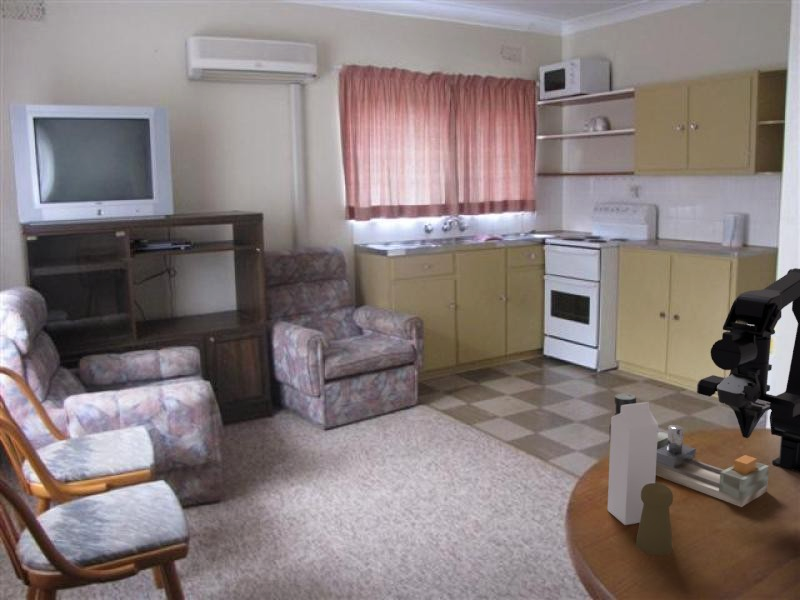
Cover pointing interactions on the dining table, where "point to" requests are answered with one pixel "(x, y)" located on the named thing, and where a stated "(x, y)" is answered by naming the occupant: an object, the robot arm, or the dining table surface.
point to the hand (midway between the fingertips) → (746, 437)
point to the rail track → (715, 478)
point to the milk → (631, 460)
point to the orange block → (745, 464)
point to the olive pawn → (655, 520)
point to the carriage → (675, 449)
